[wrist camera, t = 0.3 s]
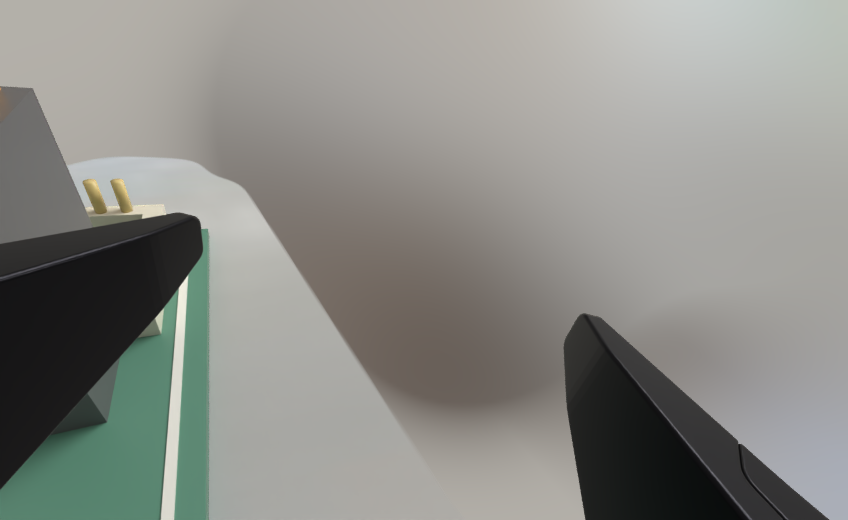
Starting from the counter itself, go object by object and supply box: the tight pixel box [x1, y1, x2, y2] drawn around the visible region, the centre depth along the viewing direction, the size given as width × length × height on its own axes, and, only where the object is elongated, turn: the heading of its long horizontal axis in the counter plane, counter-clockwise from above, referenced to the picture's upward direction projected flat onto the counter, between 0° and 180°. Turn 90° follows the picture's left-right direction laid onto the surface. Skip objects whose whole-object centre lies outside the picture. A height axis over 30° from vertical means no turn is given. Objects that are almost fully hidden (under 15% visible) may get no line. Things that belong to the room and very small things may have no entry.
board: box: [0, 179, 209, 520], centre depth 19 cm, size 26×14×6 cm, turn 22°
